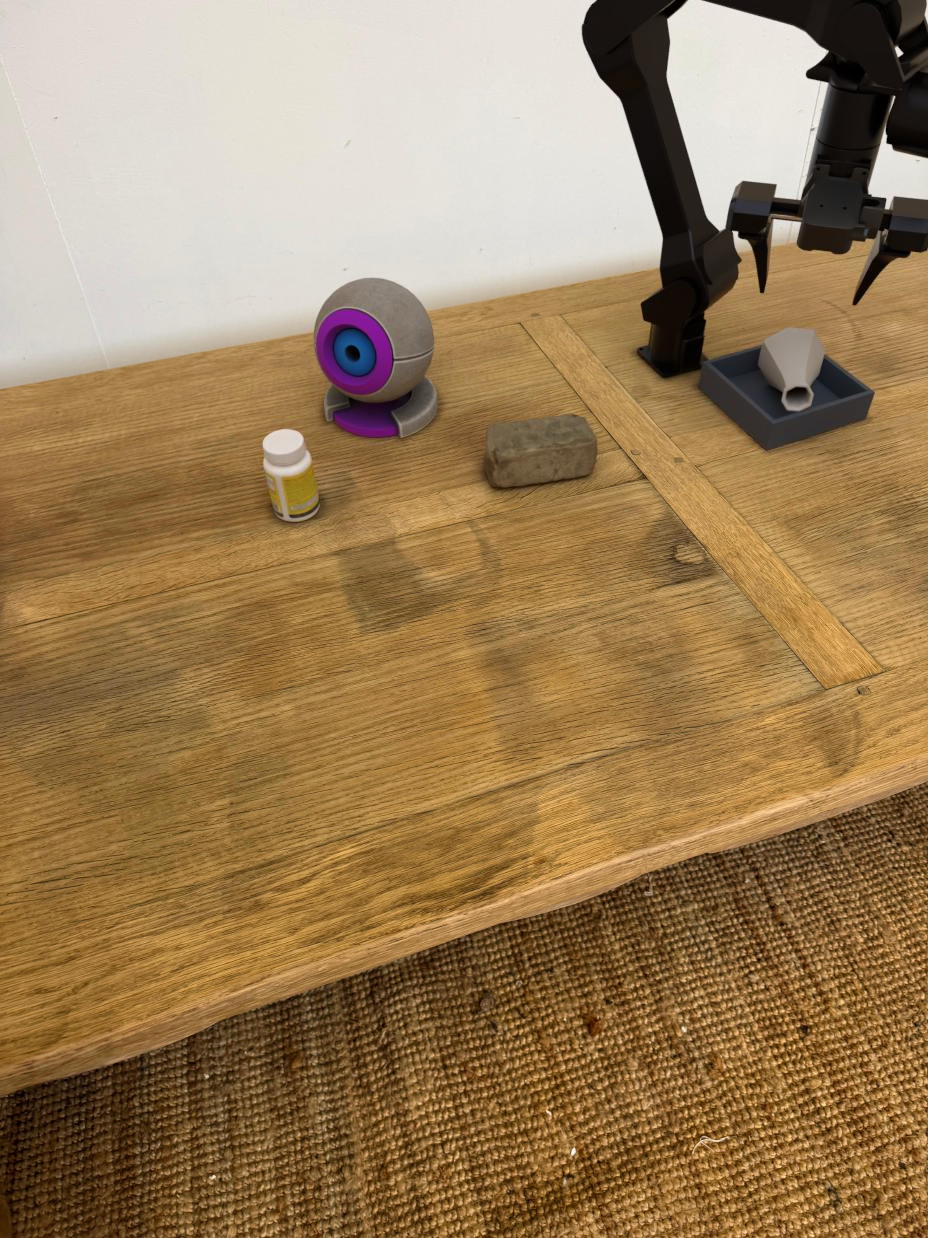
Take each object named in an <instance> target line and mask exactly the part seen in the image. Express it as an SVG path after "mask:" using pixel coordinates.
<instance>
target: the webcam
mask: <svg viewBox="0 0 928 1238" xmlns="http://www.w3.org/2000/svg"><path fill="white" fill-rule="evenodd" d="M315 319H316V320H315V322H314V327H313V349H314V354H315V358H316V361H317V364H318V366H319V368H320V370H321V372H322V373H323V375H324V377H325V378H326V380H327V381H328V382H329V383H330V384H331V385H329V387H328V388H327V390H326V391H325V394H324V397H323V412H324V417H325V419H326V422H332V421H334V422H335V423H336V425H337V426H339V427H340V428H341V429H343V430H344V431H346V432H348V433H350V434H354V435H356V436H360V437H366V438H386V437H392V436H397V435H398V436H399V438H400V439H403V438H406V437H408V436H411V435H414V434H416V433H417V432H419V431H421V430H422V429H424V428H425V427H426V426H428V425H429V424H430V423H431V422H432V421H433V419H434V418H435V416H436V414H437V412H438V408H439V407H438V406H439V402H438V401H439V400H438V399H439V398H438V393H437V389H436V386H435V385H434V383H433V382H432V380H431V379H429V377H428V376H426V374H427V372H428V370H429V368H430V367H431V364H432V360H433V356H434V352H435V335H434V328H433V324H432V321H431V318H430V315H429V313H428V311H427V310H426V308H425V306H424V305H423V303H422V302H421V300H420V299H419V298H418V296H416V295H415V294H414V293H413V292H412V291H411V290H409V289H408V288H406V287H404V286H403V285H401V284H400V283H397V282H395V281H392V280H389V279H386V278H382V277H362V278H359V279H354V280H352V281H349V282H347V283H345V284H344V285H341V286H339V287H338V288H337V289H336V290H334V291H333V292H332V293H331V294H330V295H329V297H328V298H326V300H325V301H324V303H323V304H322V306H321V307H320V309H319V311H318V314H317V316H316V318H315Z"/></svg>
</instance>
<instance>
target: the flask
mask: <svg viewBox="0 0 928 1238" xmlns="http://www.w3.org/2000/svg"><path fill="white" fill-rule="evenodd" d="M761 345H762V347H761V351H760V356H759V361H758V366H759V368H760V369H761V371H762V373H763V374H764V376H765V378H766V380H767V381H768V383H769V384H770V385H771V386H773V387H775V388H777V389H778V390H780V391H781V392H782V393H783V395H782V399H781V401H782V403H783V405H784V406H785V408H786V410H787V411H801V410H803V409H805V408H807V407H809V406H811V403H812V399H813V396H814V394H813V392H812V390H811V388H810V386H811V384H812V383H813V381H814V380H815V379H816V378H817V376H818V375H819V373H820V369H821V365H822V362H823V358H824V354H825V353H826V348H825V346H824V345H823V343H822V340H821V339H820V337H819V335H818V333H817V332H816V330H815V329H814V328H806V327H805V328H803V327H791V326H789V327H788V326H787V327H785V328H783V329H781V330H779V331H778V332H775V333H774V334H772V335H770V336H768V337H766V338H765V339H763V340H762V342H761Z"/></svg>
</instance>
